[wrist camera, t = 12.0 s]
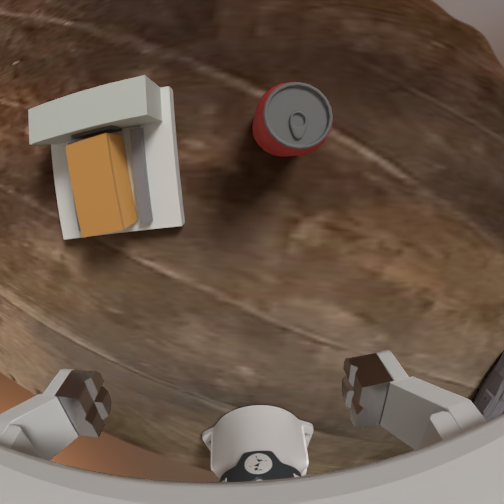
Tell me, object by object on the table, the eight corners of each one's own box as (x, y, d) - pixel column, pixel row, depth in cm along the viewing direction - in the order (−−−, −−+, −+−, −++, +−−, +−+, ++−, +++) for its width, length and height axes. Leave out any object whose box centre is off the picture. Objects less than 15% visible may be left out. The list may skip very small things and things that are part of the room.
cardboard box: (138, 220, 35) (123, 230, 30) (101, 227, 35) (82, 237, 30) (123, 135, 32) (106, 132, 27) (86, 146, 32) (65, 145, 27)
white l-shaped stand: (185, 222, 37) (170, 239, 30) (71, 235, 37) (38, 253, 30) (172, 89, 33) (155, 73, 25) (57, 117, 33) (22, 112, 25)
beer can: (251, 156, 35) (256, 154, 24) (252, 100, 34) (256, 74, 22) (308, 157, 36) (338, 157, 24) (308, 103, 34) (338, 79, 22)
